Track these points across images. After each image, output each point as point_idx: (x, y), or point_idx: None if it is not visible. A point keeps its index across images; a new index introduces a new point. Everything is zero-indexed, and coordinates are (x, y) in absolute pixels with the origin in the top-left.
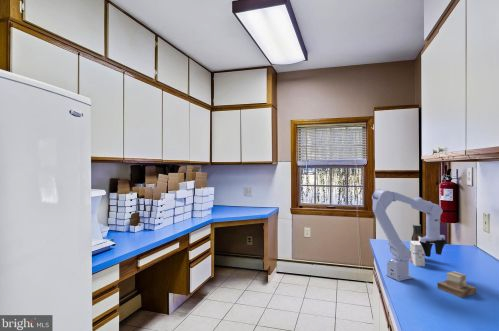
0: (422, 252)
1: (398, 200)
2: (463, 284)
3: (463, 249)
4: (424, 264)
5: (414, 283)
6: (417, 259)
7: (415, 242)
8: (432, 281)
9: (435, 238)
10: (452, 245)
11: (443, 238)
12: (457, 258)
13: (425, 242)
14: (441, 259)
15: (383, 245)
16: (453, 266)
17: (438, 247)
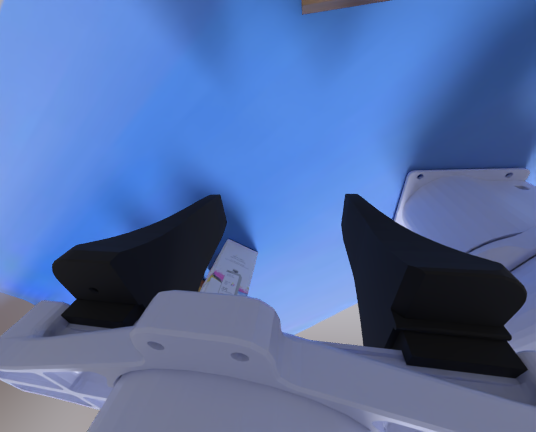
0: (217, 287)
1: None
2: None
3: (10, 274)
4: (227, 243)
5: (489, 115)
6: (246, 269)
7: None
8: (363, 101)
9: (327, 392)
10: (30, 298)
11: (51, 320)
12: (62, 240)
13: (510, 349)
14: None
15: None
16: (119, 199)
17: (196, 245)
